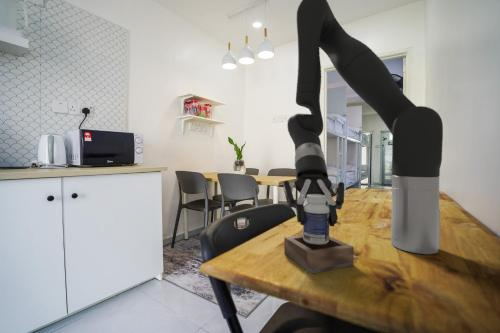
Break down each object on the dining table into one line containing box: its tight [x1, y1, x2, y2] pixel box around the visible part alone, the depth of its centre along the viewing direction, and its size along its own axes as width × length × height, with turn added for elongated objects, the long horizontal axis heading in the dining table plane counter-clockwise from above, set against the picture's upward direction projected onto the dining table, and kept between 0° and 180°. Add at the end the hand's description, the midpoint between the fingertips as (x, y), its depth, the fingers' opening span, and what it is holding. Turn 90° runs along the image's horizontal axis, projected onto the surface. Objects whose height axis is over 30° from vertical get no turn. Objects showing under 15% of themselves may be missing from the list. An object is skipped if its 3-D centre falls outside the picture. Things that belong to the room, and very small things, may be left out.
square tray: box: [283, 234, 355, 274], centre depth 48 cm, size 10×10×4 cm
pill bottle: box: [302, 194, 330, 245], centre depth 48 cm, size 5×5×10 cm
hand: (317, 223), depth 46 cm, fingers closed on pill bottle, 5 cm apart
